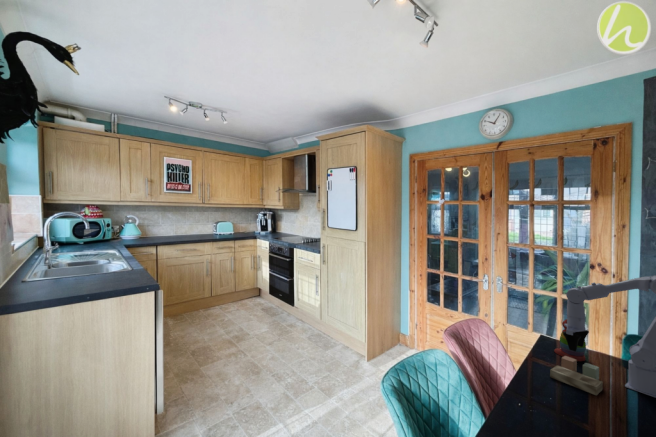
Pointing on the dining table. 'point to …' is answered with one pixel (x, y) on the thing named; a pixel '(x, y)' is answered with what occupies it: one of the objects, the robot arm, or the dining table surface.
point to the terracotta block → (569, 363)
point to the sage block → (591, 371)
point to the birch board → (577, 380)
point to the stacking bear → (566, 351)
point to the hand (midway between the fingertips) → (576, 348)
